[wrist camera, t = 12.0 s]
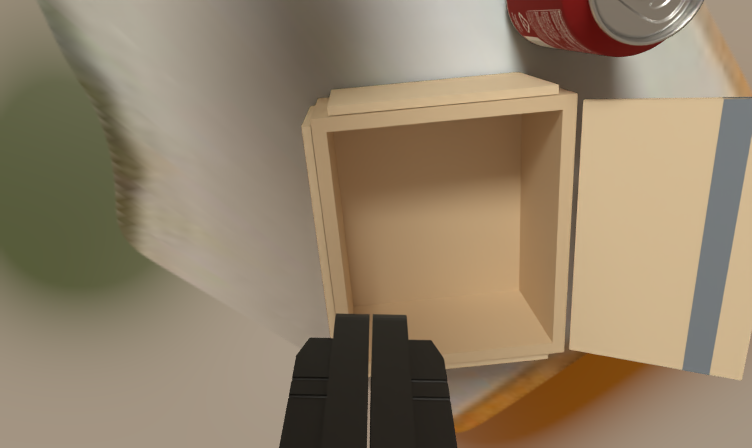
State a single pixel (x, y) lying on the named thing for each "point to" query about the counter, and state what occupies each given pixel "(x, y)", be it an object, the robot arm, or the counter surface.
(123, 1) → the counter surface
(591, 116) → the flap
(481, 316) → the carton
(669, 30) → the soda can
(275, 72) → the counter surface
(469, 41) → the counter surface
